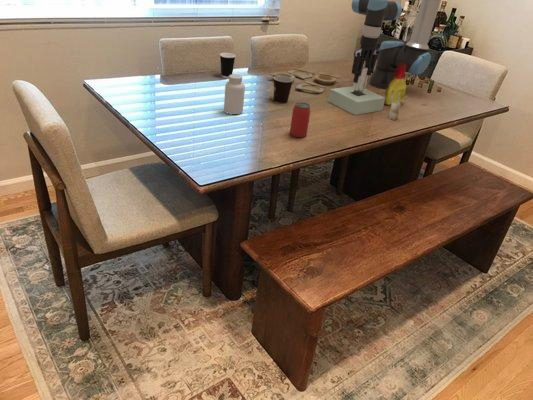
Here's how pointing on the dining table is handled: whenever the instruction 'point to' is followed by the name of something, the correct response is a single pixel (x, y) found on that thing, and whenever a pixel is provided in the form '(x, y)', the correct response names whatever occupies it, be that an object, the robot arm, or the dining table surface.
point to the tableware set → (309, 86)
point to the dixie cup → (227, 64)
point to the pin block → (356, 100)
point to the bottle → (396, 86)
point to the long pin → (361, 81)
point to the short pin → (394, 110)
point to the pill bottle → (234, 94)
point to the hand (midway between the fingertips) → (358, 88)
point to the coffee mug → (282, 88)
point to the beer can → (300, 119)
